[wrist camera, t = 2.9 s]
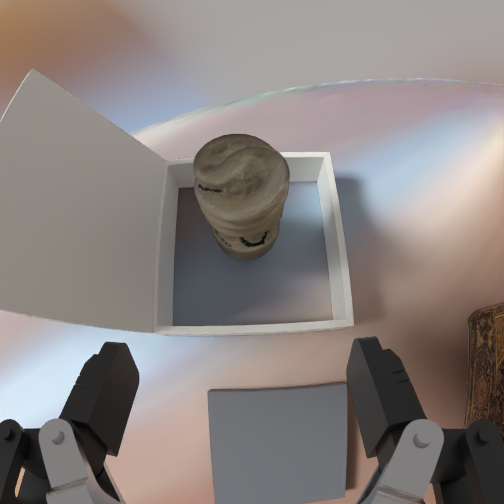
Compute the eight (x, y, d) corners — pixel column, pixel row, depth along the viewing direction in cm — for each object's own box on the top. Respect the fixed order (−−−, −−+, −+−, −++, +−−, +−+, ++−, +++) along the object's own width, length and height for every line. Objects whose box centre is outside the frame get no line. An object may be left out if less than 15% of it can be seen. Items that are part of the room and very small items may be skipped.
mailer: (102, 332, 27) (-56, 294, 8) (117, 190, 32) (27, 70, 13) (339, 329, 26) (472, 287, 8) (321, 176, 31) (365, 21, 13)
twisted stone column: (290, 252, 29) (316, 160, 14) (247, 291, 28) (231, 228, 13) (251, 213, 30) (243, 103, 16) (209, 247, 29) (164, 156, 15)
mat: (217, 498, 21) (215, 505, 20) (210, 389, 25) (207, 391, 23) (341, 490, 21) (344, 497, 19) (342, 382, 25) (346, 383, 23)
